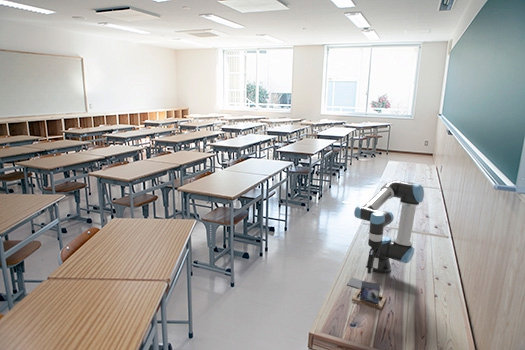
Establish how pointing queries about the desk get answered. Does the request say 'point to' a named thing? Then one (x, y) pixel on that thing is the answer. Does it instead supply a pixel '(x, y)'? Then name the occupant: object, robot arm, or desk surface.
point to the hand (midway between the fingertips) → (372, 272)
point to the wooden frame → (378, 307)
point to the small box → (370, 292)
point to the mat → (355, 283)
